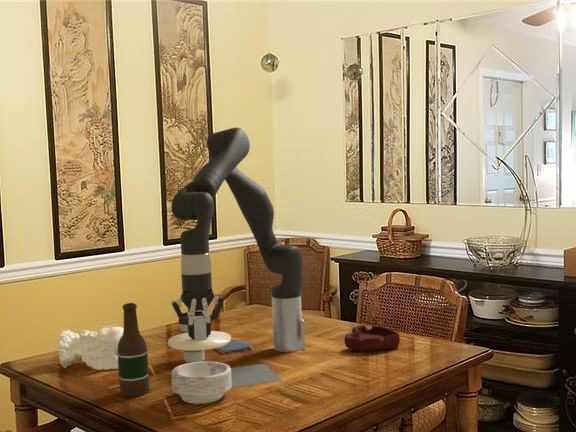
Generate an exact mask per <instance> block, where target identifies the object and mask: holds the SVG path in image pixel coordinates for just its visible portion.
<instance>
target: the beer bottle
mask: <svg viewBox="0 0 576 432" xmlns="http://www.w3.org/2000/svg"><path fill="white" fill-rule="evenodd" d="M137 308H138V307H137V304H136V303H134V302H129V303H128V302H127V303H124V304H122V309H123V328H124V330H123V335H122V337H121V339H120V340H119V344H118V369H117V370H118V382H119V383H118V384H119V392H120V394H121V396H122V397H124V398H125V397H126V398H136V397H142V396H144V395H146V394H147V393H149V392H150V375H149V360H148V358H149V357H148V347H147V342H146V341H145V338H144V337H143V336H142V334H141V333H140V329H139V323H138V316H137Z"/></svg>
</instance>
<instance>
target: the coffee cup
mask: <svg viewBox="0 0 576 432" xmlns="http://www.w3.org/2000/svg"><path fill="white" fill-rule="evenodd" d="M187 312H188V311H187ZM187 312H186V311H185V312H182V314H183V316H184V318H187V315H188V314H187ZM196 316H203V313H202V311H201V310H198V311H195V315H194V317H196ZM178 324H179V327H180V330H179V331H180V334H183V333H188V325H187V324H185V323H184V324H183V323H182V322H181V321H180V319H179V318H178ZM182 351H183V358H184V359H183V360H184V361H185V362H186V363H193V362H204V360H205V353H206V352H205V350H195V351H188V350H182Z"/></svg>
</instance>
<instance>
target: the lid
mask: <svg viewBox="0 0 576 432" xmlns="http://www.w3.org/2000/svg"><path fill="white" fill-rule="evenodd" d="M193 325H194V337H195V339H191V337H189V335H188V333H183V334H181V333H179V334H177V335H174V336H172V337H170V338H168V340H167V345H168V347H169V348H172V349H174V350H177V351H178V350H179V351H183V350H188V351H195V350H213V349H214V348H218V347H222V346H224V345H227V344H229V343H230V342H232V335H231V334H230V333H227V332H224V331H217V330H211V334H210V335H209V337H208V338H207V336H206V318H205V317H204V316H196V317H194V320H193ZM214 350H215V349H214Z"/></svg>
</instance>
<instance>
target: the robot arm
mask: <svg viewBox="0 0 576 432" xmlns="http://www.w3.org/2000/svg"><path fill="white" fill-rule="evenodd" d="M206 148H207V151H208V153H209V156H210V158H211V159H210V161H208V162H207V163H205V164H203V166H202V167H201V168H200V169H199V171H198V172H197V173H196V175H195V176H194V177H193V179H192V181H191V182H189V183H187V184H186V185H185V186H183V187H182V188H180V189H179V190H178V191H177V192H176V193H175V195H174V196H173V198H172V201H171V205H170V207H171V209H170V210H171V213H172V214H173V216H174V217H175V219H178V220H180V221H197V222H196V225H195V227H194V228H190V229H186V230H183V231H182V232H181V233H180V252H181V253H180V254H181V259H180V272H181V274H180V275H181V292H182V293H181V295H180V297H179V298H178V299H176V300H172V301H171V304H170V305H171V306H172V309H173V310H174V312H175V314H176V316H177V318H178V320H179V319H180V321H181V322H182V323H183V324H184V323H185V324H187V325H188V335H189V337H191V339H195V337H194V325H193V320H194V315H195V311H202V313H203V316H204V317H205V318H206V336H207V338H208V337H209V335H210V334H211V331H212V327H211V325H212V324H211V323H212V322H213V321H217V320H218V317H219V315H220V312H221V310H222V307H223V304H224V302H225V299H224V298H223V297H222V296H221V295H215V293H214V291H213V283H212V264H211V263H212V261H211V256H210V244H209V243H210V240H209V236H210V230H211V225H212V219H213V215H214V211H215V201H214V198H215V196H216V195H217V193H218V191H219V190H220V188H221V186H222V185H223V183H224V182H226V184H227V185H228V188H229V190H230V192H231V193H232V195H233V197H234V199H235V202H236V203H237V205H238V208H239V210H240V211H241V213H242V216H243V217H244V219H245V221H246V223H247V225H248V227H249V229H250V231H251V233H252V234H253V235H252V236H253V238H254V240H255V242H256V244H257V247H258V249H259V252H260V255H261V257H262V260H263V263H264V265H265V267H266V269H267V270H268V271H269V272H270V273H272V274H276V275H281V277H282V278H281V282H280V283H279V284H276V285H274V286H273V287H271V311H272V314H271V315H272V333H273V334H272V335H273V350H275V351H277V352H282V353H283V352H284V353H291V352H297V351H304V350H306V342H305V341H306V338H305V320H304V319H303V315H302V311H303V310H302V288H303V283H304V282H303V281H304V259H303V258H304V257H303V253H302V251H301V250H300V247H298V246H295V245H289V244H288V245H286V244H281V243H280V242H279V241H278V240H277V238H276V236H275V233H274V230H273V225H274V219H275V218H274V217H275V211H274V206H273V204H272V202H271V200H270V198H269V196H268V193H267V192H266V190H265V189H264V188H263V186H261V185H260V184H259V183H258V182H256V181H255V180H253V179H251V178H250V177H248V176H247V175H246V174H244V173H243V172H242V171H241V170H240V169H239V168H238V165H239V164H240V163H241V162H242V161H243V160H245V158H246V157H247V156H248V154H249V152H250V149H251V144H250V138H249V137H248V134H247V133H246V131H245V130H244V129H243V128H241V127H231V128H228V129H224V130H220V131H217V132H214V133H211V134H209V136H208V137H207V140H206ZM212 302H213V304H214V306H213V310H211V311H212V312H211V313H210V311H209V306H210V305H211V303H212ZM182 304H184V305H185V307H186V308H187V314H188V315H187V318H184V316H183V314H182V313H183V312H182V310H181V308H182Z"/></svg>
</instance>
